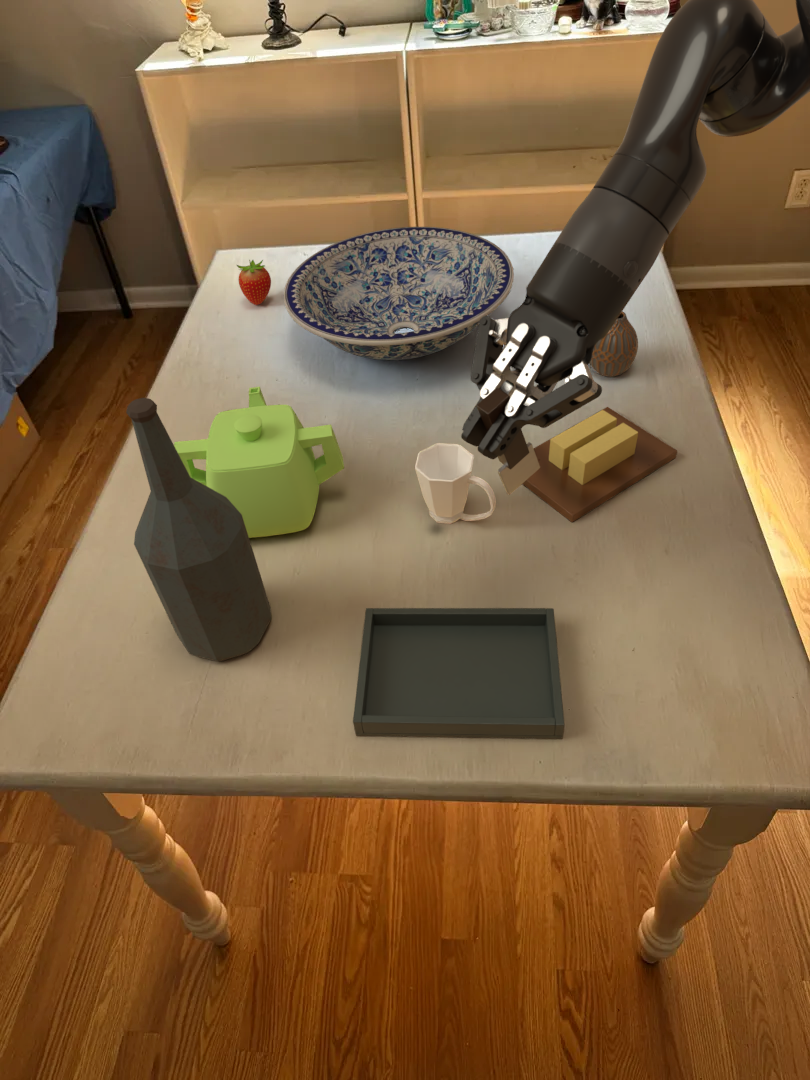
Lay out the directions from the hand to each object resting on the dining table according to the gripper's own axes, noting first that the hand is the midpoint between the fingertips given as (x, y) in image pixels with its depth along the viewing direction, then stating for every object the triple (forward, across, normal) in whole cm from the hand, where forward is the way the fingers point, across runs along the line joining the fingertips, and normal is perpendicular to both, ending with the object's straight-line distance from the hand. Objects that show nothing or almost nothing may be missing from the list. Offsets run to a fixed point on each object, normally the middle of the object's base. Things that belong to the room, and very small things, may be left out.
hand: (477, 448), depth 67 cm
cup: (+11, +14, -22) cm, 29 cm away
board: (-2, +10, -36) cm, 37 cm away
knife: (+1, 0, -9) cm, 9 cm away
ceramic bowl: (-2, +51, -35) cm, 62 cm away
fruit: (+7, +75, -26) cm, 80 cm away
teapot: (+22, +32, -11) cm, 41 cm away
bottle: (+33, +16, -1) cm, 36 cm away
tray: (+21, -4, -12) cm, 25 cm away
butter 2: (-3, +8, -35) cm, 36 cm away
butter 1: (-3, +12, -35) cm, 37 cm away
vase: (-14, +23, -47) cm, 55 cm away
